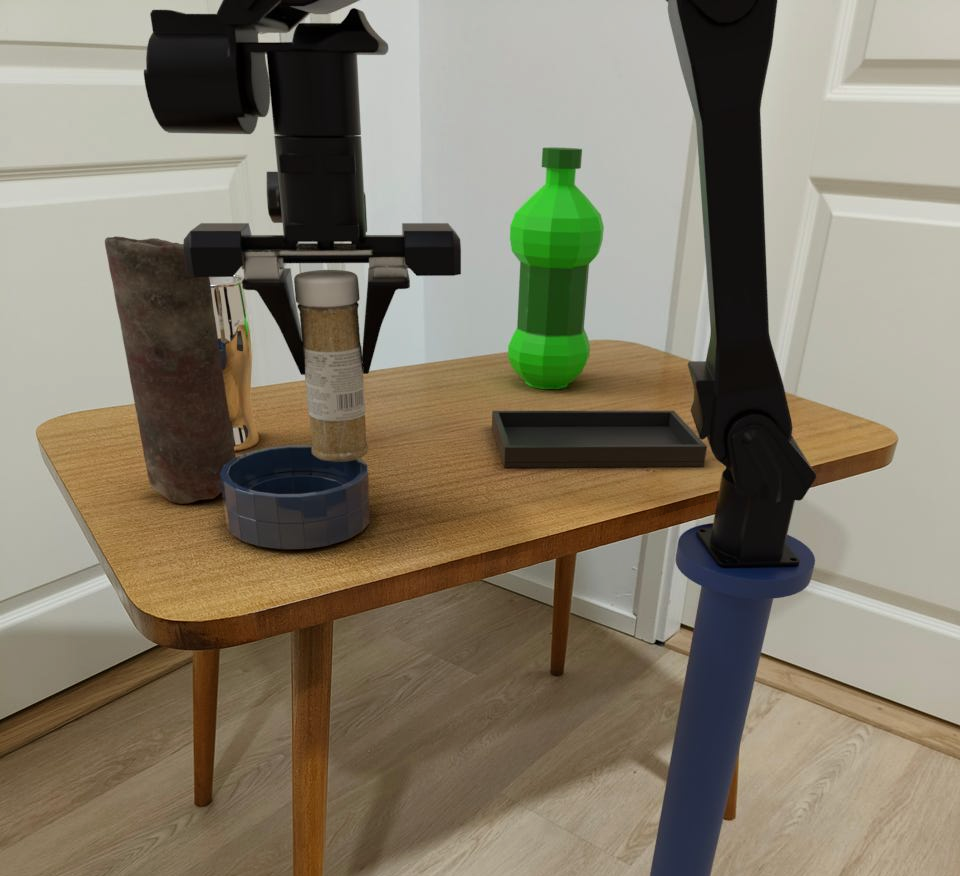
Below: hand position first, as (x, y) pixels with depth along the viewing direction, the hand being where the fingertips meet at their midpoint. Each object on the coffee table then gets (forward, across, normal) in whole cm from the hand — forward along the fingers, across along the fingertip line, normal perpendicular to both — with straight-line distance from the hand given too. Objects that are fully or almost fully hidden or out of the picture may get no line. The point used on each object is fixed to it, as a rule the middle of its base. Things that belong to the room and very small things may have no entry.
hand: (335, 372), depth 67 cm
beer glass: (+11, +12, -18) cm, 24 cm away
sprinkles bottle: (+7, 0, 0) cm, 7 cm away
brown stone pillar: (+11, +13, -6) cm, 18 cm away
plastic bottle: (+12, -23, -38) cm, 46 cm away
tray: (+12, -24, -16) cm, 31 cm away
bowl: (+11, +4, +2) cm, 12 cm away
